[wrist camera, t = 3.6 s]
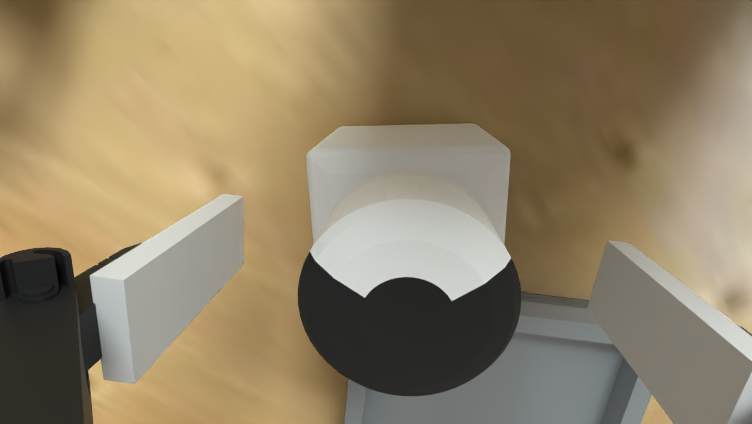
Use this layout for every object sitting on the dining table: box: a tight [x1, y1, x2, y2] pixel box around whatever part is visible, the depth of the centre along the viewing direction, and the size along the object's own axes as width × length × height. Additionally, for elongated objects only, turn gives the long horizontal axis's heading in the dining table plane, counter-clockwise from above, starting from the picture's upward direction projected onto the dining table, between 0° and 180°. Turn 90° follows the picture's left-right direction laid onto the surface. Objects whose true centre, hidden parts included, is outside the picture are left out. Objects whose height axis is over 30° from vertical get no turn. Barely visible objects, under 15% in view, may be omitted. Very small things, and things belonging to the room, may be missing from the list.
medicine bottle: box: [298, 123, 521, 396], centre depth 16 cm, size 7×7×12 cm
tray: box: [344, 292, 652, 424], centre depth 25 cm, size 16×16×2 cm
